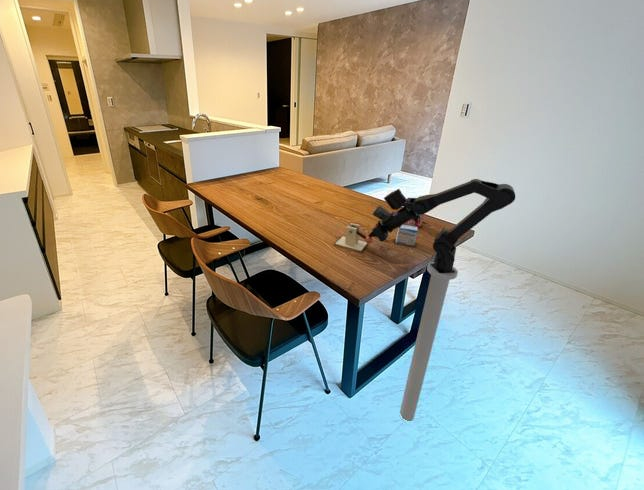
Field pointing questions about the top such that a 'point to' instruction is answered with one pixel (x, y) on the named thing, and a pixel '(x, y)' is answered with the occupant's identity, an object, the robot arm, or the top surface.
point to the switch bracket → (352, 238)
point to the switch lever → (367, 238)
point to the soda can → (413, 223)
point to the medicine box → (407, 235)
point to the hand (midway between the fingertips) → (369, 235)
